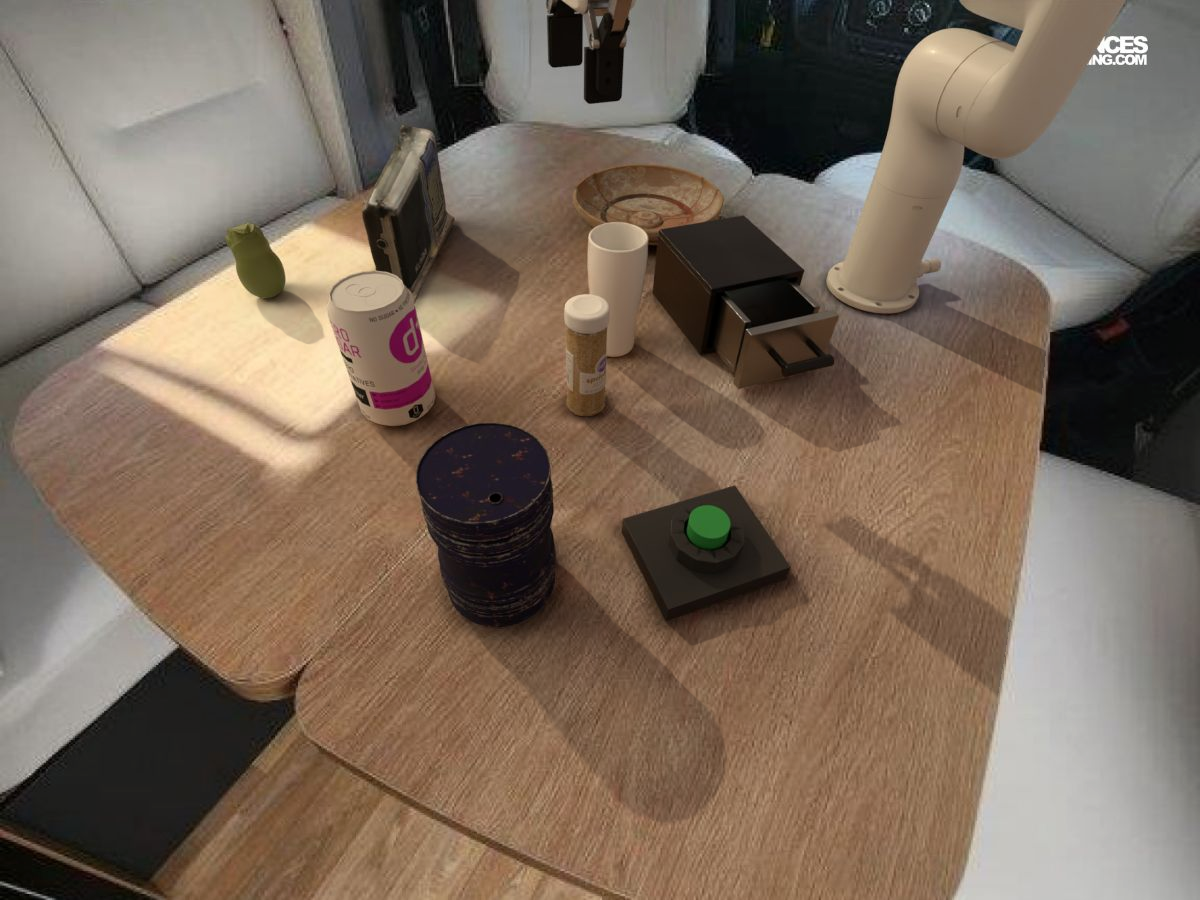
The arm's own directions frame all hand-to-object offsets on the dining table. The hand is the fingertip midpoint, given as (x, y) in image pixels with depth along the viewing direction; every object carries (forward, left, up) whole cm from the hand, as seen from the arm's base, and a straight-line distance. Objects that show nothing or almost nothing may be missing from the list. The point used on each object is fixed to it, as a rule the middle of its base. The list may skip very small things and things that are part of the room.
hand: (583, 82), depth 55 cm
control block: (-1, +31, -31) cm, 44 cm away
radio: (+14, -30, -31) cm, 45 cm away
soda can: (+22, +1, -31) cm, 38 cm away
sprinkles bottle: (+2, +8, -31) cm, 32 cm away
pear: (+35, -27, -31) cm, 54 cm away
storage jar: (+17, +27, -31) cm, 45 cm away
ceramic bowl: (-22, -29, -31) cm, 47 cm away
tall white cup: (-5, -1, -31) cm, 31 cm away
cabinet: (-21, -3, -31) cm, 37 cm away
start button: (-1, +31, -27) cm, 41 cm away
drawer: (-21, +8, -30) cm, 37 cm away
